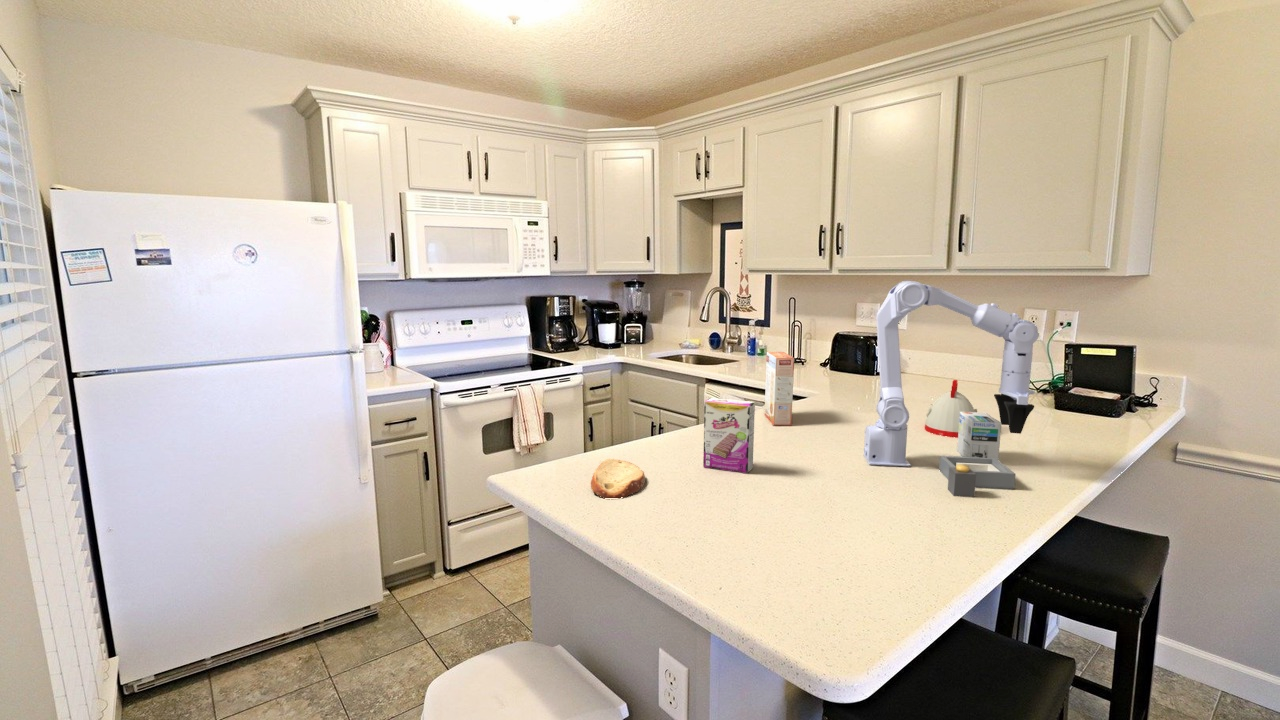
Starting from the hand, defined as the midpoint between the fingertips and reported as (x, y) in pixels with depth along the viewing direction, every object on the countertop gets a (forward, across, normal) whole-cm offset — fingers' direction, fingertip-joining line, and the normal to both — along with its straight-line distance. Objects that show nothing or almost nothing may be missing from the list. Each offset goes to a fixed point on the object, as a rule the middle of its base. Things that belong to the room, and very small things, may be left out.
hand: (1010, 428), depth 144 cm
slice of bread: (+11, -33, +86) cm, 93 cm away
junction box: (+10, -10, +9) cm, 16 cm away
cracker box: (+10, +33, +55) cm, 65 cm away
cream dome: (+10, +34, +6) cm, 36 cm away
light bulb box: (+10, +8, +5) cm, 14 cm away
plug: (+10, -20, +13) cm, 26 cm away
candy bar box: (+10, -17, +63) cm, 66 cm away
